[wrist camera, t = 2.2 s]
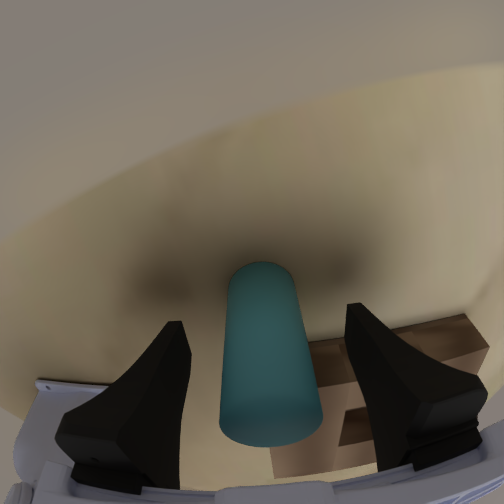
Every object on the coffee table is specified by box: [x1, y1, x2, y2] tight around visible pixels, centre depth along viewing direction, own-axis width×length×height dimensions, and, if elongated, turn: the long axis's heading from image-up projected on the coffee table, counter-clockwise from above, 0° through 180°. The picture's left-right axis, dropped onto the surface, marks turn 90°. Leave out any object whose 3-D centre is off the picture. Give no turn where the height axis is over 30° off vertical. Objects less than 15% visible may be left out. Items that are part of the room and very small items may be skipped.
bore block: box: [270, 314, 490, 479], centre depth 19 cm, size 14×12×4 cm
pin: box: [219, 262, 323, 447], centre depth 13 cm, size 3×3×8 cm
